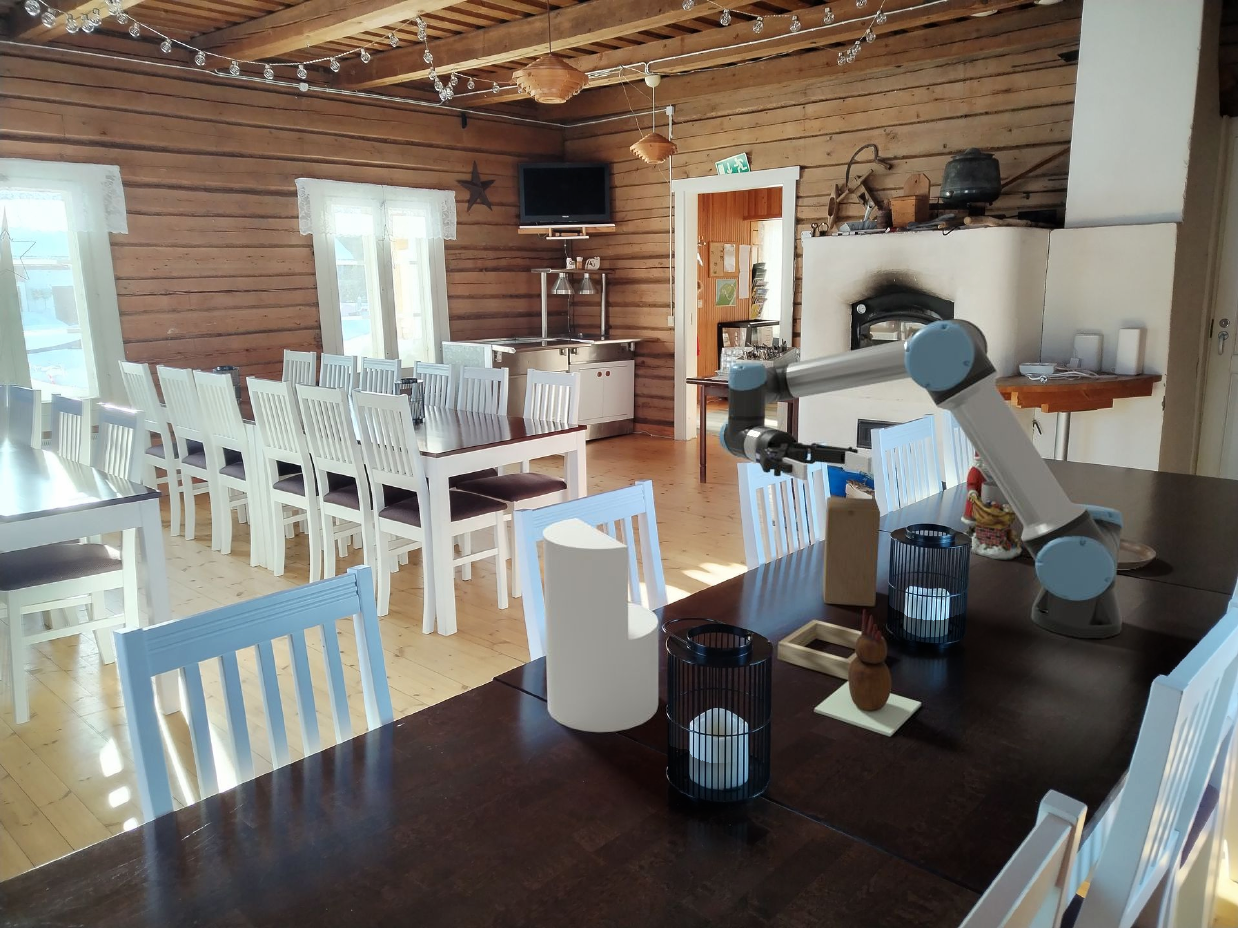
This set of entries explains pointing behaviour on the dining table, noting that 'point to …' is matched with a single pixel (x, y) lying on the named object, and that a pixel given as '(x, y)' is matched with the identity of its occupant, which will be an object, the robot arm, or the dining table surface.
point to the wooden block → (851, 551)
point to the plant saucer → (1136, 549)
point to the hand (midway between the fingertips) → (838, 468)
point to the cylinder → (595, 633)
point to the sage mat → (876, 721)
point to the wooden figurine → (869, 669)
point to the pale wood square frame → (797, 654)
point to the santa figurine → (989, 515)
